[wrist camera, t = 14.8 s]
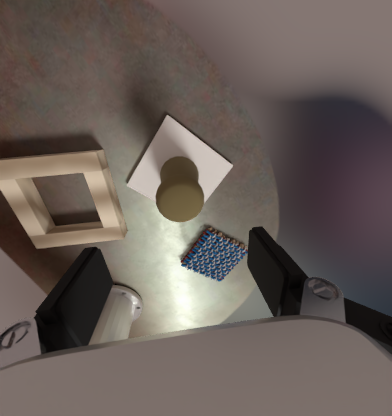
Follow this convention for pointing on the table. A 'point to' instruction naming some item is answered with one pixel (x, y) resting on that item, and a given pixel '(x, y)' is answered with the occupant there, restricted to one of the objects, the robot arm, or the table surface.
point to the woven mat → (214, 255)
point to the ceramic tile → (171, 147)
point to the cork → (179, 190)
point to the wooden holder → (36, 210)
